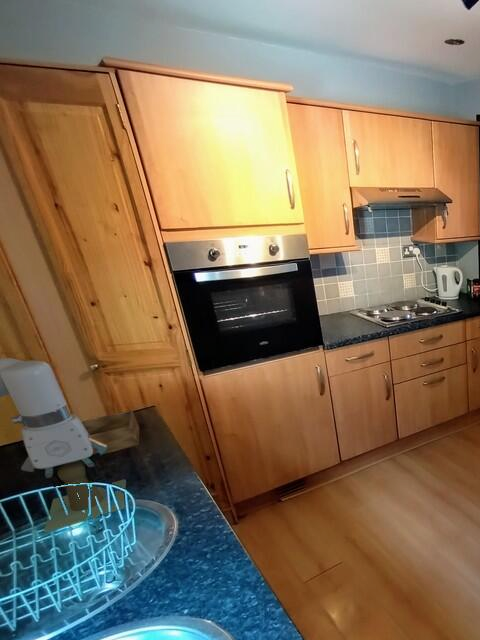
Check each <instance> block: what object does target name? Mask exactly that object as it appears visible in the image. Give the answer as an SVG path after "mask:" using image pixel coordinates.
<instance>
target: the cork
mask: <svg viewBox="0 0 480 640" xmlns="http://www.w3.org/2000/svg"><path fill="white" fill-rule="evenodd" d="M57 471H58V472H57V475H58V477H59V478H60V479H61V480H63V481H64V484H65V485H68V484H80V483H94V482H92V481H91V479H90V477H89V475H88V473H87V470H86V464H85V463H84V462H83V461H81V460H78V461H74V462H70V463H66V464H62V465H60V467H59V468H58V469H57ZM65 485H64V486H65ZM97 487H98V486H96V485H95V486H92V487H91V489H92V492H91V507H94V506H96V505H97V503H96V499H95V496H97V498H98V500H99V503H100V502H101V501H102V500H103V498H104V497H103V496H102V494H101V493H100V492H99V490H98V489H97ZM65 490H66V496H67V495H68V499H69V503H70V507H71V509H72V510H73V511H81V510H86V509H88V497H89V489H88V486H87V485H79V486H66V487H65ZM77 493H78V495H79V497H78V495H77ZM79 498H80V499H79Z"/></svg>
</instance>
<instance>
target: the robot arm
mask: <svg viewBox="0 0 480 640" xmlns="http://www.w3.org/2000/svg"><path fill="white" fill-rule="evenodd" d="M8 395H10V397H11V400H12V402H13V404H14V406H15V408H16V410H17V412H18V414H19V415H17V416H16V417H12V418H11V420H12V424H14V425H15V424H22V425H23V426H22V427H21V428H20V430H21V437H22V440H23V444H24V447H25V450H26V452H27V457H26V459H25V460H24V462H23V463H22V465H21V468H20V470H21V471H25V472H30V473H34V474H37V475H41V476H45V477H44V478H48V479H49V481H50V483H51V485H52V487H53V488H57V487H56V486H61V485H64V487H61V488H57V490H58V492H61V491H64V488H65V483H64V481H63V480H61V479H60V478H59V477H58V475H57V472H58V469H55V467H57V466H63V465H65V464H67V463H70V462H76V461H81V462H83V463H85V464H86V470H87V474H88V476H89V477H90V479H91V481H92V482H93V483H94V482H96V481H97V477H98V476H100V475H99V474H100V473H99V469H98V468H97V465H96V463H97V462H98V460H99V459H101V456H102V455H104V454H103V453H104V452H105V451H106V450H107V448H108V446H107V445H105V444H103V443H101V442H98V441H96V440H93V439H91V438H90V436H89V434H88V432H87V430H86V429H85V427H84V426H83V424H82V422H81V421H82V420H80V418H79V416H77V415H76V414H75V413H71V410H70V408H69V405H68V403H67V401H66V398H65V397H64V394H63V392H62V389H61V387H60V385H59V382H58V381H57V378H56V376H55V374H54V371H53V369H52V367H51V366H50V364H49V363H47V362H46V361H42V360H28V361H25V360H21V359H17V358H12V357H3V358H2V357H1V358H0V398H3V397H5V396H8ZM93 447H94V448H96V449H98V450H97V451H96V452H94V454H93V455H92V453H93Z"/></svg>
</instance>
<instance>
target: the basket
mask: <svg viewBox="0 0 480 640" xmlns="http://www.w3.org/2000/svg"><path fill="white" fill-rule="evenodd" d="M136 418H137V417H136V416H135V413H134V410H133V409H132V410H127V411H123V412H118V413H114V414H108V415H104V416H98V417H95V418H90V419H85V420H80V421H81V422H82V424H83V426H84V427H85V429H86V430H87V432H88V434H89V436H90V438H91V439H93V440H96V441H98V442H101V443H103V444H105V445H107V446H108V448H107V450H106V451H105V452H104V453H103V454H102V455H105V454H109V453H112V452H113V453H114V452H116V451H121V450H125V449H130V448H133V447H137V446H140V426H139V423H138V421H137V419H136ZM97 450H98V449H96V448H94V447H93V453H92V455H93V454H94V452H96V451H97Z"/></svg>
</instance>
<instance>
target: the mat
mask: <svg viewBox="0 0 480 640" xmlns="http://www.w3.org/2000/svg"><path fill="white" fill-rule="evenodd" d="M111 483H112V484H115V485H118V486H121V487H122V488H125V489H126V485H127V480H126V479H124V478H123V479H120V480H117V481H114V482H113V481H112V482H111ZM96 487H97V489H98V490H99V492H100V493H101V494H102V496H103V497H104V498H103V500H102V501H101V502H100V506H101V508H102V510H103V514H104V515H103V516H105V515H108V514H109V513H108V503H107V493H106V489H104V488H102V487H99V486H96ZM115 495H116V498H117V500H118V502H119V507H120V510H119V511H121V510H124V509H125V505H124V494H123V493H122V492H121V491H118V490H117V491H115ZM62 497H63V499H64V502H65V504H66V507H67V510H68V515H66V514H65V512H64V510H63V507H62V505H61V503H60V500H59V497H56V498H53V499H52V502H51V505H50V509H49V512H50V514H51V517H52V518H51V520H49V519H48V518H47V520H46V523H45V527H44V533H45V534H47V533H50V532H53V531H57V530H60V529H63V528H66V527H69V526H73V525H75V524H78V523H79V524H80V523H82V522H85V521H87V520H86V519H87V517H88V509H86V510H85V513H84V512H82V510H81V511H73V510H72V509H71V507H70V503H69V499H68V495H67V494H66V495H63V496H62ZM115 512H118V511H117V509H116V507H115V505H114V504H112V507H111V513H110V514H112V513H115ZM98 517H101V516H100V511H99V510H98V507H97V505H96V506H94V507H91V519H90V520H92V519H95V518H98Z"/></svg>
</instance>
